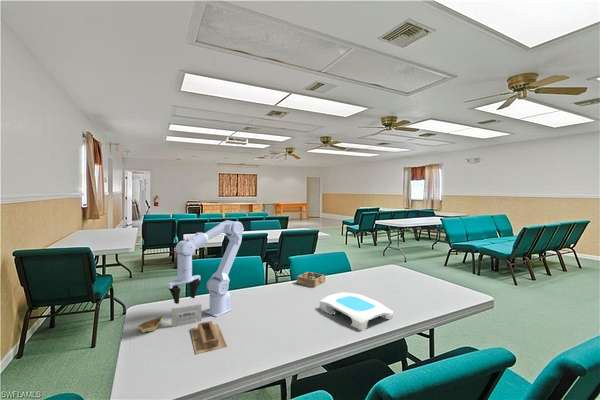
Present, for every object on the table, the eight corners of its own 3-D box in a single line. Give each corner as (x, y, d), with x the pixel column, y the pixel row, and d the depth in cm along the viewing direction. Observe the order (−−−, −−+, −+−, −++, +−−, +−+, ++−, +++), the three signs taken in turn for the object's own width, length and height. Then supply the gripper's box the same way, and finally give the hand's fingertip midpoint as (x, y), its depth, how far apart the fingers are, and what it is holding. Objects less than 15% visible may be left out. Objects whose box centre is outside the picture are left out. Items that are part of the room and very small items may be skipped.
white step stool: (349, 301, 148) (350, 289, 148) (393, 322, 125) (394, 308, 125) (318, 310, 137) (318, 297, 137) (360, 335, 114) (361, 319, 113)
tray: (217, 324, 120) (217, 317, 120) (227, 348, 102) (227, 340, 102) (190, 330, 116) (190, 322, 115) (195, 355, 98) (195, 347, 98)
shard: (163, 318, 124) (162, 314, 124) (171, 324, 120) (171, 320, 119) (136, 328, 116) (136, 324, 116) (144, 334, 111) (144, 330, 111)
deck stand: (307, 279, 185) (307, 271, 185) (325, 282, 178) (325, 275, 178) (296, 284, 175) (296, 276, 175) (314, 288, 167) (314, 280, 167)
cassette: (171, 327, 118) (171, 309, 117) (171, 325, 119) (171, 307, 119) (201, 321, 123) (201, 304, 123) (201, 320, 125) (201, 303, 125)
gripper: (193, 264, 128) (193, 293, 129) (163, 271, 116) (163, 303, 117) (203, 266, 124) (203, 296, 125) (173, 274, 112) (173, 307, 113)
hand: (184, 300), depth 120 cm, fingers open, 7 cm apart
